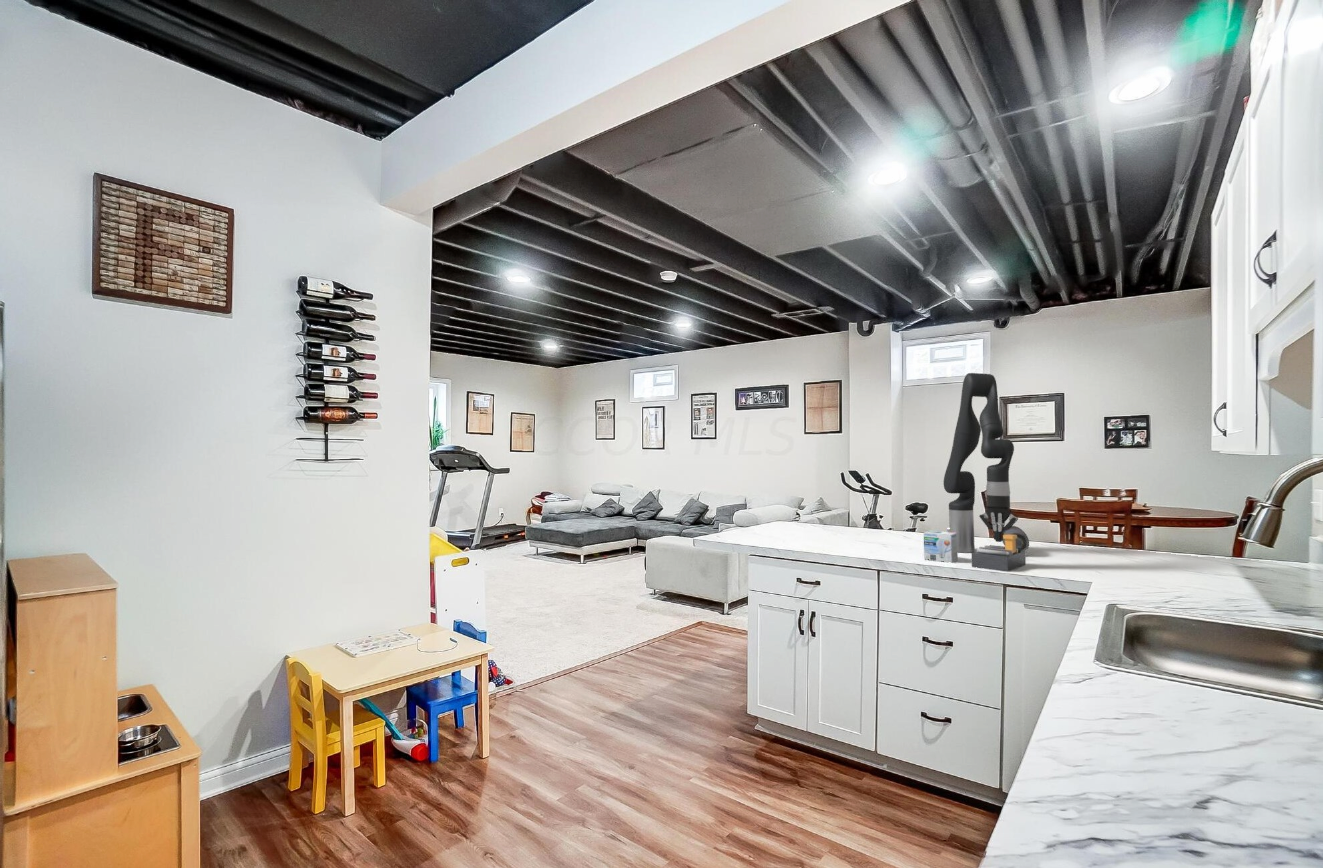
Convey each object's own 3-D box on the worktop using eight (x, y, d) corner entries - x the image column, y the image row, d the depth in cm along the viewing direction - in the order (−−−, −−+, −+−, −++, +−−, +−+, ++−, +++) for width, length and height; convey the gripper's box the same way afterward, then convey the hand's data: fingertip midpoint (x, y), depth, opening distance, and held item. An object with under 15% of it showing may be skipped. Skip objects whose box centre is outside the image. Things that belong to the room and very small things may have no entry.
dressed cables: (976, 552, 222) (976, 548, 222) (990, 548, 230) (990, 544, 230) (1008, 556, 214) (1008, 552, 214) (1022, 551, 222) (1021, 547, 222)
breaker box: (971, 566, 221) (971, 548, 221) (990, 560, 232) (990, 543, 232) (1007, 571, 212) (1007, 552, 212) (1025, 564, 223) (1025, 547, 223)
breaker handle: (1003, 552, 219) (1003, 535, 219) (1007, 551, 221) (1007, 534, 221) (1013, 553, 216) (1012, 535, 216) (1017, 552, 219) (1017, 534, 219)
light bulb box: (923, 559, 236) (922, 532, 237) (929, 557, 241) (928, 530, 242) (952, 562, 229) (951, 534, 229) (958, 560, 234) (957, 532, 234)
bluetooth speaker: (1000, 547, 262) (999, 524, 263) (1025, 548, 258) (1024, 524, 259) (1003, 555, 242) (1002, 530, 242) (1031, 557, 238) (1030, 531, 238)
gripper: (974, 493, 225) (975, 540, 224) (1013, 495, 215) (1014, 545, 214) (983, 492, 229) (984, 538, 229) (1021, 494, 219) (1022, 542, 219)
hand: (998, 541), depth 222 cm, fingers closed
